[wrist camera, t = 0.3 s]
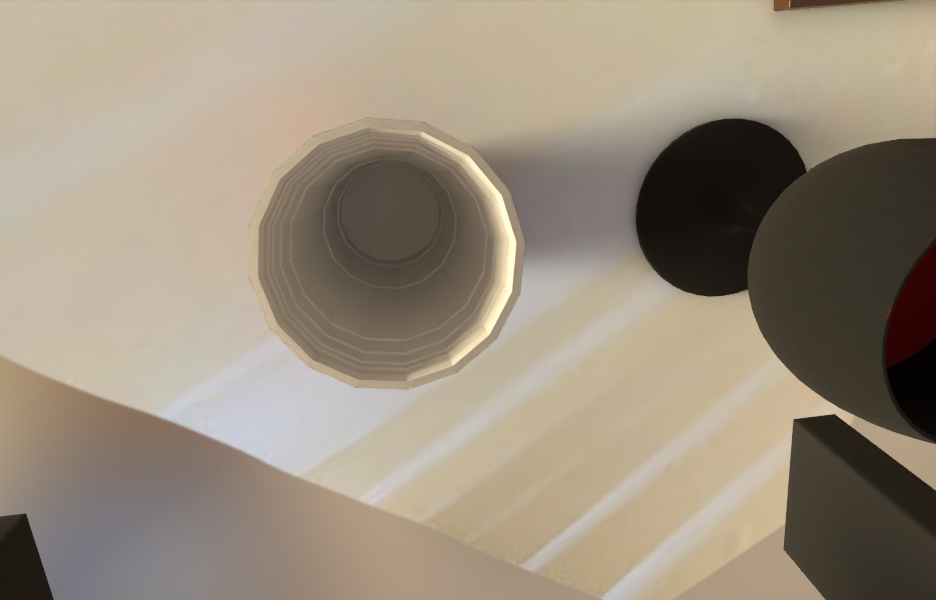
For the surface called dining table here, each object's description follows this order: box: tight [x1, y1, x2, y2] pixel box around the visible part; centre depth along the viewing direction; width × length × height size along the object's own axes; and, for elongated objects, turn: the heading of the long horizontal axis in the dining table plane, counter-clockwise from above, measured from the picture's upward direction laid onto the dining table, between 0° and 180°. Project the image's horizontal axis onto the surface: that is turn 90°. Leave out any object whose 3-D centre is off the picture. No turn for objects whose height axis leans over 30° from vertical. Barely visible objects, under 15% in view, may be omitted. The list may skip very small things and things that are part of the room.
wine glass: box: [636, 119, 936, 444], centre depth 31 cm, size 10×10×20 cm
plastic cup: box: [249, 118, 525, 390], centre depth 32 cm, size 11×11×12 cm
